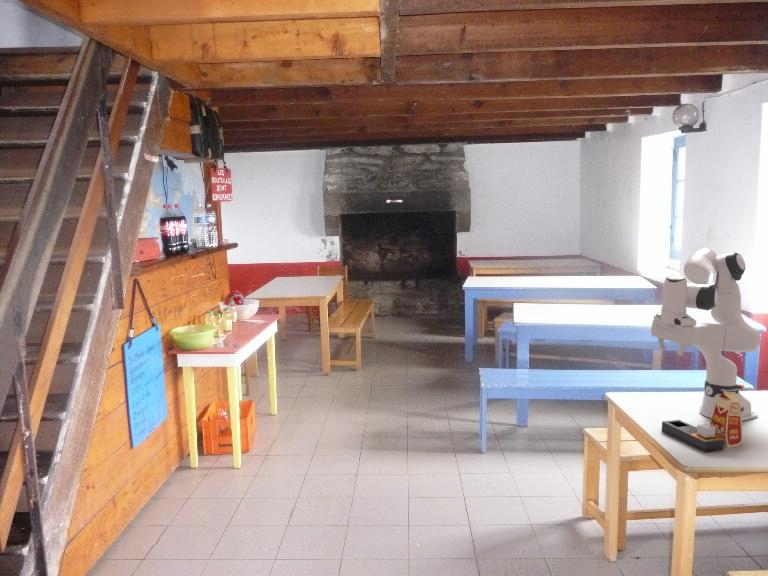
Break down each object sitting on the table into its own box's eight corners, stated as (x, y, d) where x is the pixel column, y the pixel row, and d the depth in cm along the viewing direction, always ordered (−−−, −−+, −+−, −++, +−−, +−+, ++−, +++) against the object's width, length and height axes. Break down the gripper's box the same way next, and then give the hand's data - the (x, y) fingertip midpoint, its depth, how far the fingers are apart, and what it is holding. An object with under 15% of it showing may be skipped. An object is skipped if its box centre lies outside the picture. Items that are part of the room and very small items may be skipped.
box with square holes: (678, 429, 238) (679, 419, 237) (723, 450, 217) (724, 439, 216) (661, 431, 236) (662, 420, 235) (705, 452, 214) (705, 441, 214)
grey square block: (705, 444, 222) (706, 423, 221) (713, 448, 218) (715, 427, 217) (696, 445, 221) (697, 424, 220) (704, 449, 217) (706, 428, 216)
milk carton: (727, 447, 219) (731, 394, 217) (705, 439, 228) (709, 388, 225) (744, 444, 223) (748, 392, 220) (721, 435, 231) (725, 385, 229)
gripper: (648, 313, 243) (646, 346, 245) (686, 322, 224) (683, 358, 226) (661, 312, 245) (659, 345, 247) (699, 322, 226) (697, 357, 228)
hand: (671, 352), depth 236 cm, fingers open, 8 cm apart
